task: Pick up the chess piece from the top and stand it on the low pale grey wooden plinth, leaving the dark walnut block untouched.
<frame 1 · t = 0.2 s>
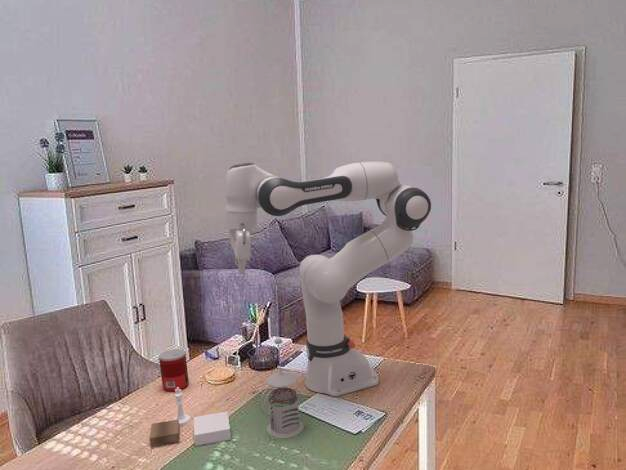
hand: (239, 269, 150), 39 cm above the table, tool pointing down, fingers open, 8 cm apart
walnut block: (165, 438, 138), on the table
chess piece: (181, 421, 145), on the table
light block: (212, 433, 138), on the table
french press: (282, 429, 138), on the table
canned food: (176, 387, 166), on the table
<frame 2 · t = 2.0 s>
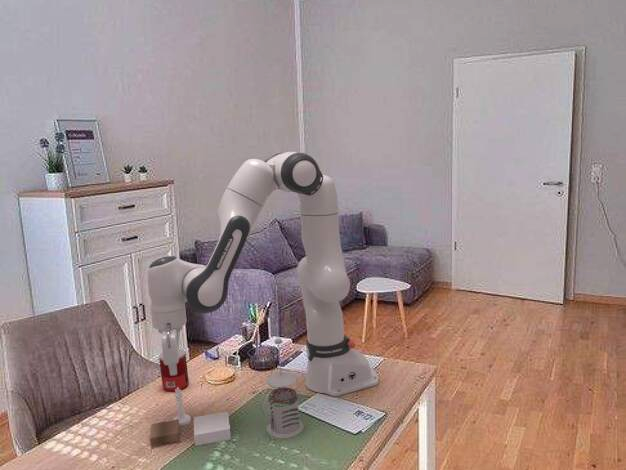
hand: (174, 366, 142), 16 cm above the table, tool pointing down, fingers open, 8 cm apart
nothing on the table moved.
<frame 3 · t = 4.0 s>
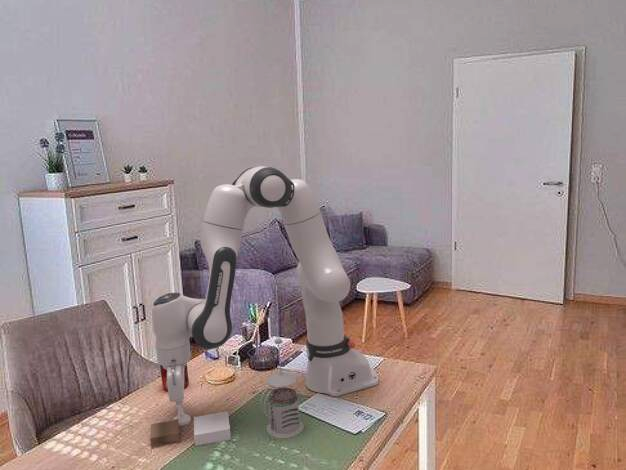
hand: (179, 400, 144), 6 cm above the table, tool pointing down, fingers closed on chess piece
chess piece: (181, 421, 145), on the table, touching gripper
everything else where it was.
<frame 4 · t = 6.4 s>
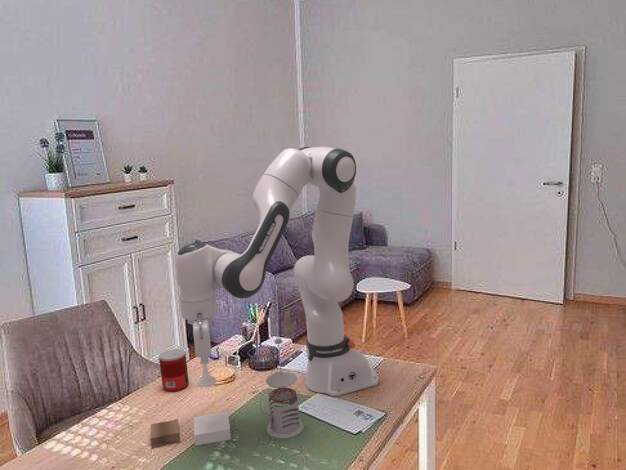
hand: (204, 359, 135), 21 cm above the table, tool pointing down, fingers closed on chess piece
chess piece: (206, 383, 136), point 14 cm above the table, touching gripper
everything else where it was.
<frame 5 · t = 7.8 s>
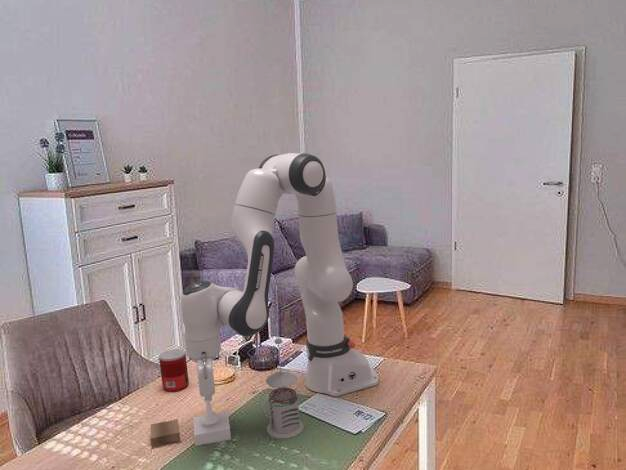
hand: (208, 395, 136), 11 cm above the table, tool pointing down, fingers closed on chess piece
chess piece: (209, 420, 138), point 4 cm above the table, touching gripper
everything else where it was.
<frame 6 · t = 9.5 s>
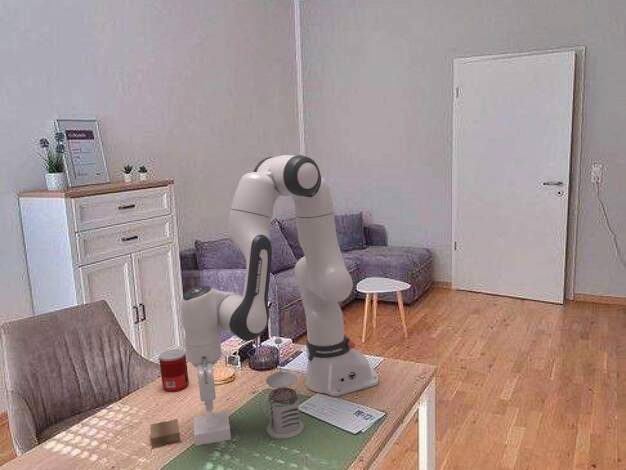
hand: (208, 400, 137), 9 cm above the table, tool pointing down, fingers open, 8 cm apart
chess piece: (210, 423, 138), point 3 cm above the table, touching light block
everything else where it was.
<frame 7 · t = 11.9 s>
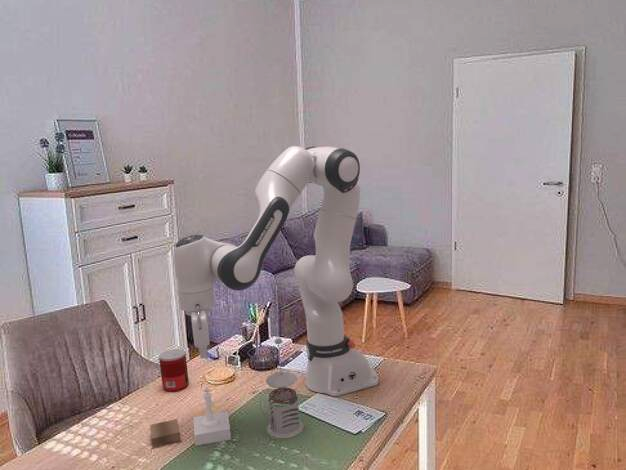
hand: (203, 350, 137), 22 cm above the table, tool pointing down, fingers open, 8 cm apart
nothing on the table moved.
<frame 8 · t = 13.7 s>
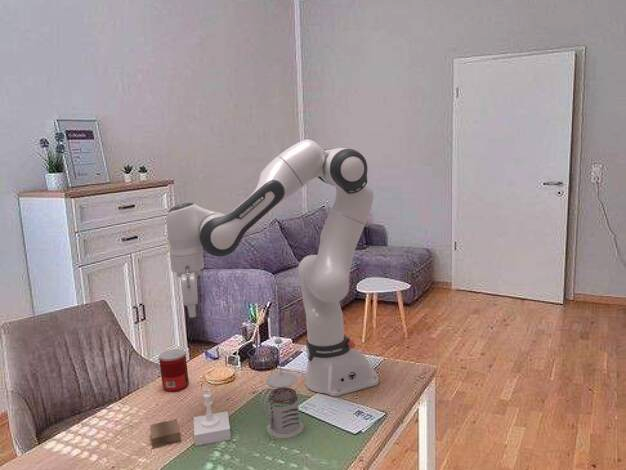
hand: (192, 311, 147), 29 cm above the table, tool pointing down, fingers open, 8 cm apart
nothing on the table moved.
at the end: chess piece inside the target area on the light block (0.3 cm from its centre), point 2.8 cm above the light block's base; chess piece tilted 0°; the gripper is holding nothing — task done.
